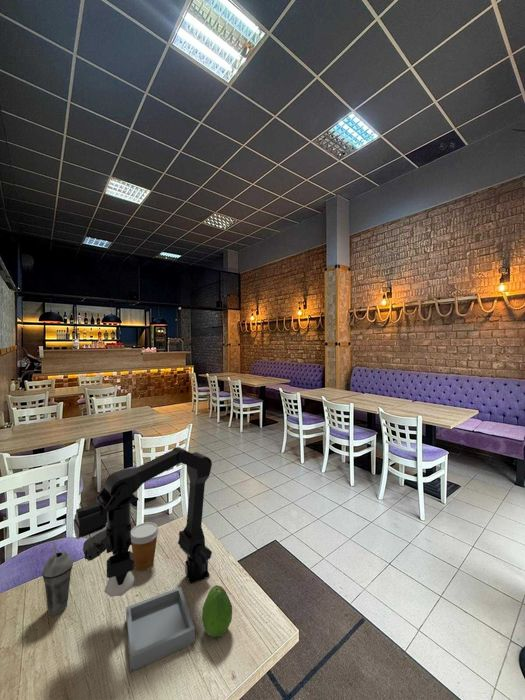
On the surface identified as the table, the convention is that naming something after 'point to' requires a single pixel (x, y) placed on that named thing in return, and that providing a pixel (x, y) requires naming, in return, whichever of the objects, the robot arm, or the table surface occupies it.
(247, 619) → the table surface
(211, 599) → the avocado
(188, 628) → the serving bin
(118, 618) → the table surface
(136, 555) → the disposable coffee cup
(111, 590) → the flask
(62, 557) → the beverage cup
